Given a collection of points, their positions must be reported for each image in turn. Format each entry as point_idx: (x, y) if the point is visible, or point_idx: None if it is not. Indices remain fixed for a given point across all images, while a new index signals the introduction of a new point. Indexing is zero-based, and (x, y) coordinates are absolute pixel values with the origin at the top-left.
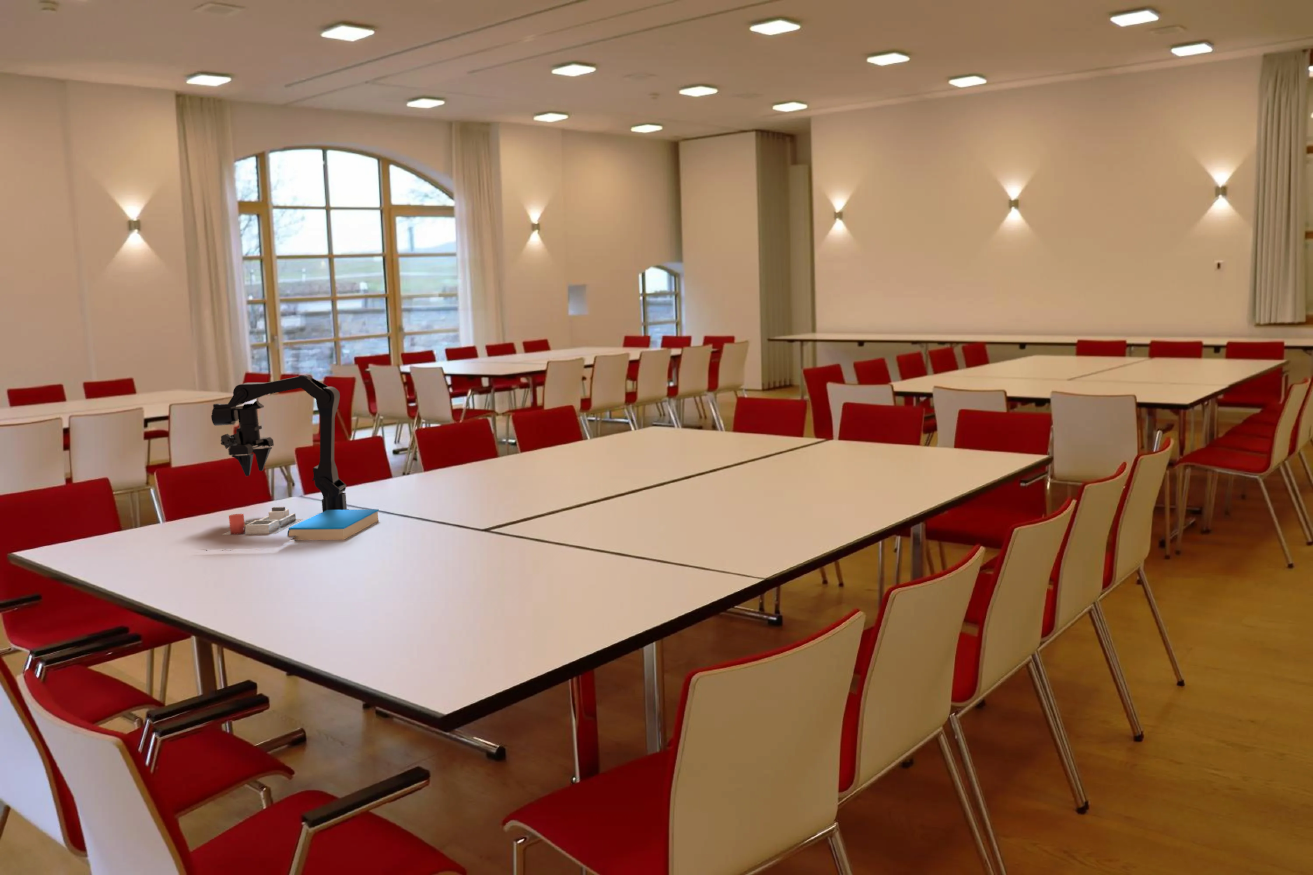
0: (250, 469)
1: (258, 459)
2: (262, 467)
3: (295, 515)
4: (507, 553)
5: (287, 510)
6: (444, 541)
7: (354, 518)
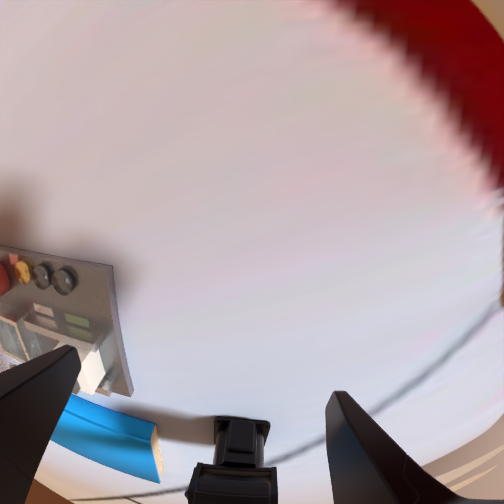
0: (57, 410)
1: (367, 481)
2: (327, 433)
3: (111, 392)
4: (63, 478)
5: (86, 390)
6: (77, 472)
7: (88, 455)
